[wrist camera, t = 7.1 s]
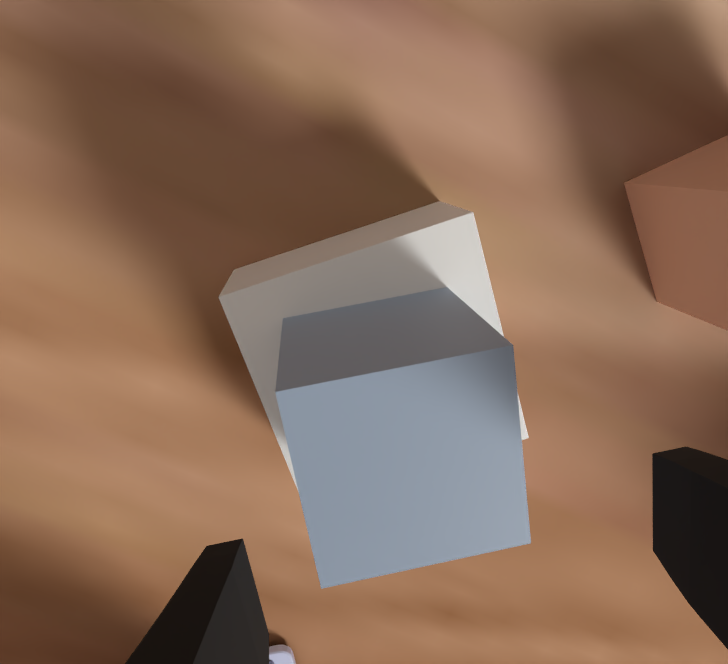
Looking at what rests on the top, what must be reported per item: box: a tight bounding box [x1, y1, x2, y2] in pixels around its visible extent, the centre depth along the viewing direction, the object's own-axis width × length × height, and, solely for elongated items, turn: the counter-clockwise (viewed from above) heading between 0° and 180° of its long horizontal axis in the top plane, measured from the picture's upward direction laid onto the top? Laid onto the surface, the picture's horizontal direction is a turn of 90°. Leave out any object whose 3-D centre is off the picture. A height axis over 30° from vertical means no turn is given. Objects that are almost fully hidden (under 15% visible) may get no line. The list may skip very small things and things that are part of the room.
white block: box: [219, 201, 529, 492], centre depth 18 cm, size 7×7×4 cm
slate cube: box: [275, 287, 531, 589], centre depth 14 cm, size 4×4×5 cm
